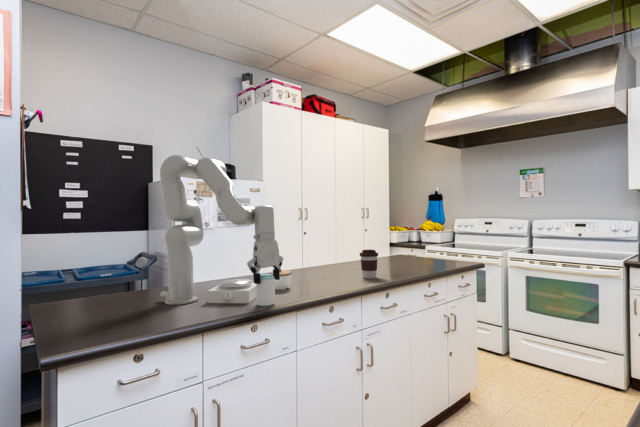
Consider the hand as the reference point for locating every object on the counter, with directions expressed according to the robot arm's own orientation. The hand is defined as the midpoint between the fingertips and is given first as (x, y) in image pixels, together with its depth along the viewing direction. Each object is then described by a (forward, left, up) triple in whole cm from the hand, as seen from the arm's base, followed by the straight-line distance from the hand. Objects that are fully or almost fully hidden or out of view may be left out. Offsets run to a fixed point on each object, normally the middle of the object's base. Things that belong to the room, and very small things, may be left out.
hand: (267, 281), depth 136 cm
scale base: (-17, +11, -9) cm, 22 cm away
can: (-1, 0, -9) cm, 9 cm away
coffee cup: (+41, +59, -9) cm, 73 cm away
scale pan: (-17, +11, -3) cm, 20 cm away
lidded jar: (-2, +31, -9) cm, 33 cm away
